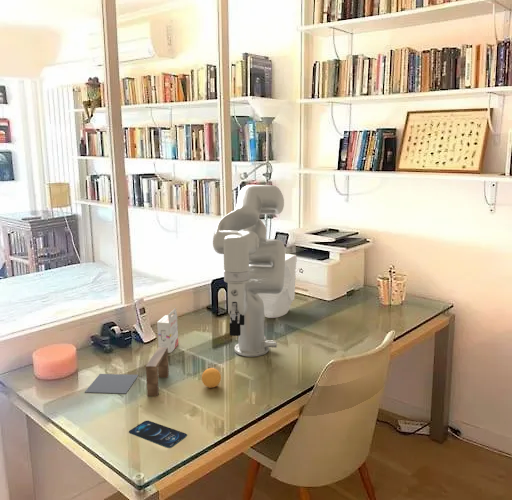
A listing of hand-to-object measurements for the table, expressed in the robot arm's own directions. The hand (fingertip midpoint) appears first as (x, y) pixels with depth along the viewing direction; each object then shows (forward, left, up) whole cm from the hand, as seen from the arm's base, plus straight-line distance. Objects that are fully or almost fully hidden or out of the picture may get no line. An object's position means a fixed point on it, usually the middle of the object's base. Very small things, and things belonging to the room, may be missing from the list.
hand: (237, 330), depth 166 cm
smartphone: (+18, +28, -20) cm, 39 cm away
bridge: (+25, 0, -19) cm, 32 cm away
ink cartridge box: (+29, -30, -19) cm, 46 cm away
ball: (+8, 0, -16) cm, 18 cm away
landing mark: (+40, 0, -19) cm, 45 cm away
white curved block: (-6, -78, -19) cm, 80 cm away
